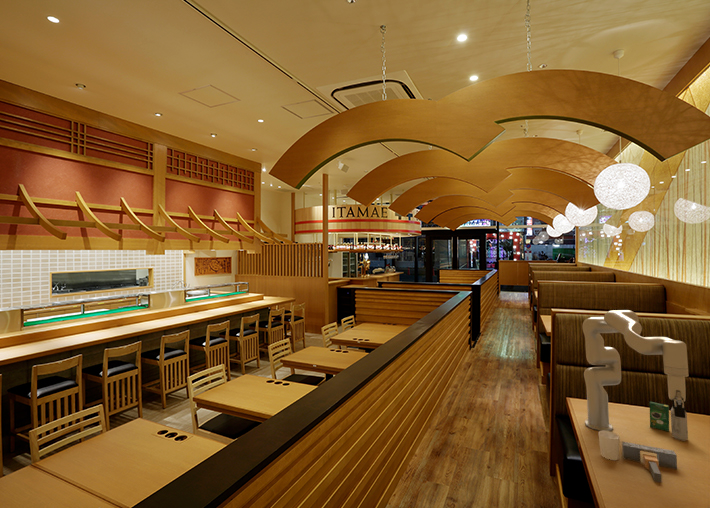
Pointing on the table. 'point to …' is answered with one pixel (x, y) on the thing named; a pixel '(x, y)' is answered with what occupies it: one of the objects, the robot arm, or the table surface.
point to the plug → (652, 466)
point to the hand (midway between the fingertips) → (678, 413)
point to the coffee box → (659, 416)
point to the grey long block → (663, 455)
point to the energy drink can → (679, 426)
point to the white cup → (609, 444)
